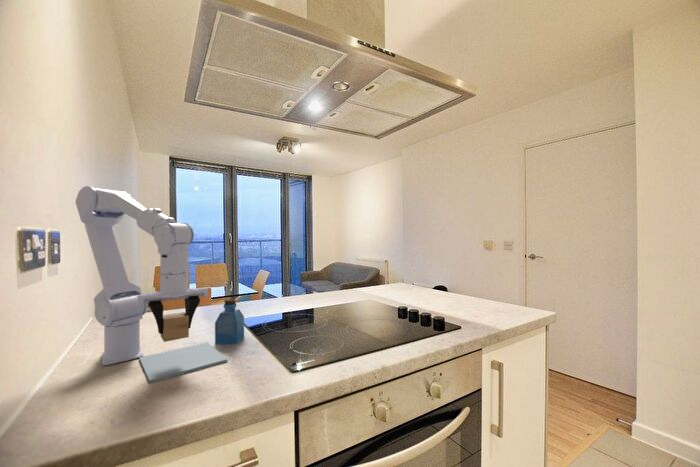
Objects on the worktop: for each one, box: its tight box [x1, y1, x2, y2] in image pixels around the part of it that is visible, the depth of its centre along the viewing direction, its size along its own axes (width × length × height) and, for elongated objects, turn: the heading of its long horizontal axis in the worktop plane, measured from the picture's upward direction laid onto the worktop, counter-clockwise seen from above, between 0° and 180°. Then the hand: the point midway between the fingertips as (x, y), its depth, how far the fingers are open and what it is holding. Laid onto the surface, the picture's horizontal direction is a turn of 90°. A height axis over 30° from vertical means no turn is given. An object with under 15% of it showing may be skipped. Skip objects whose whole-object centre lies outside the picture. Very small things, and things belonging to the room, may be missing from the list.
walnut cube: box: [160, 311, 190, 343], centre depth 71 cm, size 5×5×5 cm
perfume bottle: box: [214, 298, 245, 345], centre depth 89 cm, size 6×6×12 cm
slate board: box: [138, 341, 228, 384], centre depth 74 cm, size 16×16×1 cm
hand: (174, 330), depth 72 cm, fingers closed on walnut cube, 5 cm apart
